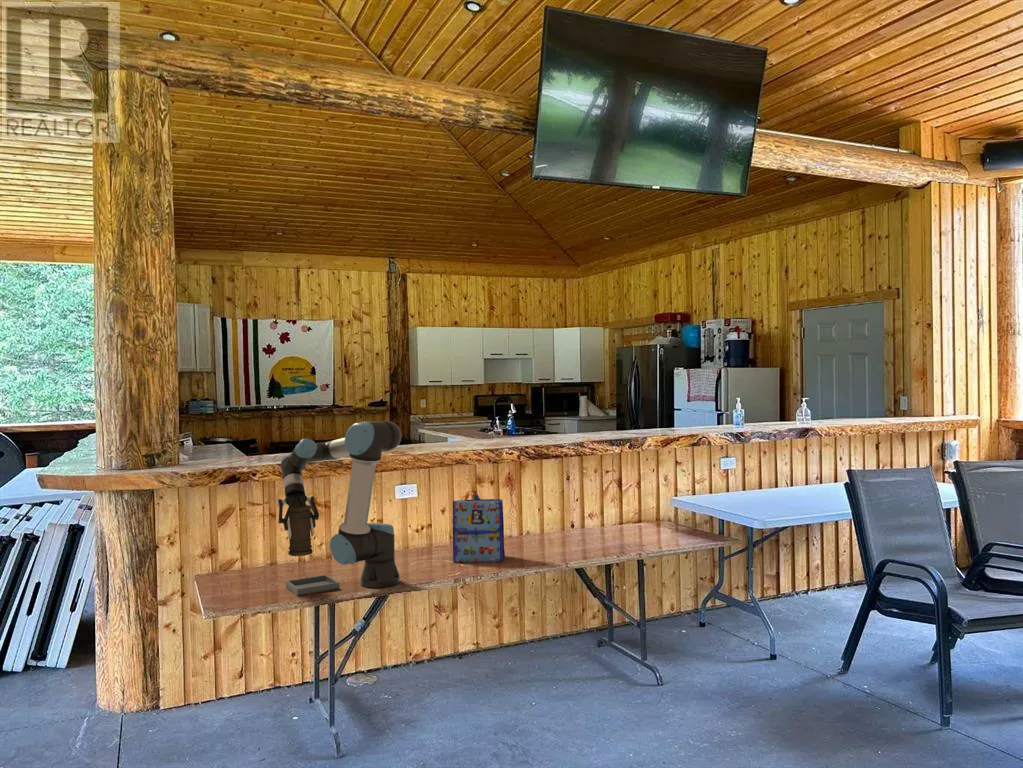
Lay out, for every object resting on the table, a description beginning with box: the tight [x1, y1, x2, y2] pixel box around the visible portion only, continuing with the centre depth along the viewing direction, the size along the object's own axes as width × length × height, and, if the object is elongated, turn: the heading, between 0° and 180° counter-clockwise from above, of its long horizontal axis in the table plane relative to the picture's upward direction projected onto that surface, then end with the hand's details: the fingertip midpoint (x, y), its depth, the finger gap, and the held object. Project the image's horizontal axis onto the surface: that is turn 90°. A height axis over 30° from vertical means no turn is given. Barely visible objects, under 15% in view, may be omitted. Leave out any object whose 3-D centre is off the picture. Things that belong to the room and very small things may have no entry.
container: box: [287, 504, 313, 557], centre depth 285 cm, size 9×9×18 cm
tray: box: [285, 574, 341, 597], centre depth 287 cm, size 16×16×2 cm
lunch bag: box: [451, 493, 506, 563], centre depth 329 cm, size 22×14×29 cm, turn 86°
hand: (301, 535), depth 282 cm, fingers closed on container, 8 cm apart
